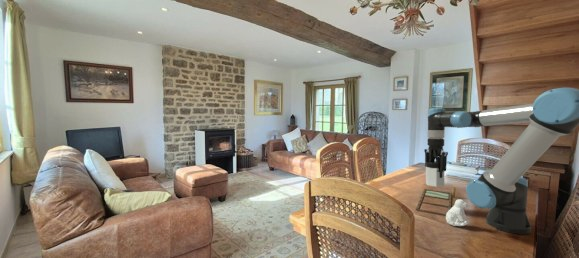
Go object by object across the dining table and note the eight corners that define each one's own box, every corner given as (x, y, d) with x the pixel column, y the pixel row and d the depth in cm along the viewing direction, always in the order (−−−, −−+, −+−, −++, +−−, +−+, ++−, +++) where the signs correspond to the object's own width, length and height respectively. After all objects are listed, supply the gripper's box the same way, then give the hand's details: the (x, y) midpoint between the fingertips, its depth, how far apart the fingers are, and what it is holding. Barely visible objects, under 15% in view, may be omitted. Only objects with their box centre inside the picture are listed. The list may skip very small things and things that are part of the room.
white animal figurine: (448, 220, 118) (448, 195, 117) (470, 226, 112) (471, 199, 111) (444, 224, 113) (444, 198, 113) (466, 230, 107) (467, 203, 106)
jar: (447, 185, 131) (447, 162, 130) (441, 187, 125) (441, 163, 125) (429, 182, 137) (429, 160, 137) (422, 184, 132) (422, 162, 132)
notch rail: (454, 217, 121) (455, 205, 121) (415, 210, 130) (416, 198, 130) (455, 194, 157) (455, 184, 157) (424, 190, 166) (424, 181, 166)
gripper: (456, 139, 123) (454, 187, 124) (429, 136, 140) (428, 178, 141) (442, 139, 121) (441, 187, 122) (417, 137, 138) (417, 179, 139)
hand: (434, 182), depth 131 cm, fingers closed on jar, 4 cm apart
